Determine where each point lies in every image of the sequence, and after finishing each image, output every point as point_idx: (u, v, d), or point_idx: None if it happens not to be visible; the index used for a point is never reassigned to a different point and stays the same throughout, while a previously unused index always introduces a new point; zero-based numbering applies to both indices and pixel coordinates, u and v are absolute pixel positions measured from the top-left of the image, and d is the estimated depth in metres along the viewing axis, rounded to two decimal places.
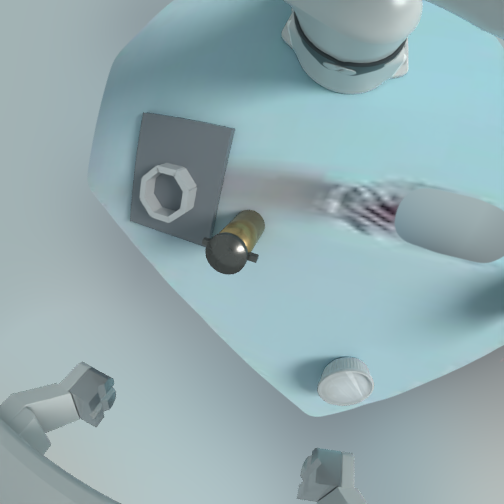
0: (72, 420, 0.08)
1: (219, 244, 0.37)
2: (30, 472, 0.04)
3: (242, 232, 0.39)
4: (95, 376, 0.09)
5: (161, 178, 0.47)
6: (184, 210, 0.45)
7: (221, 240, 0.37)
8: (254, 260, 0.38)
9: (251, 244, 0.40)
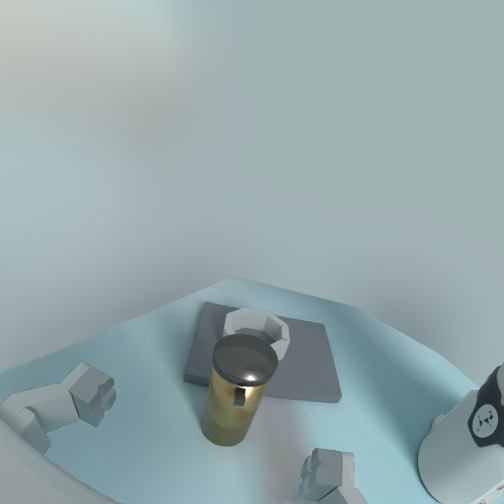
0: (72, 420, 0.08)
1: (260, 349, 0.24)
2: (30, 472, 0.04)
3: (264, 390, 0.24)
4: (95, 376, 0.09)
5: (263, 335, 0.42)
6: None
7: (267, 351, 0.24)
8: (238, 397, 0.21)
9: (246, 403, 0.23)
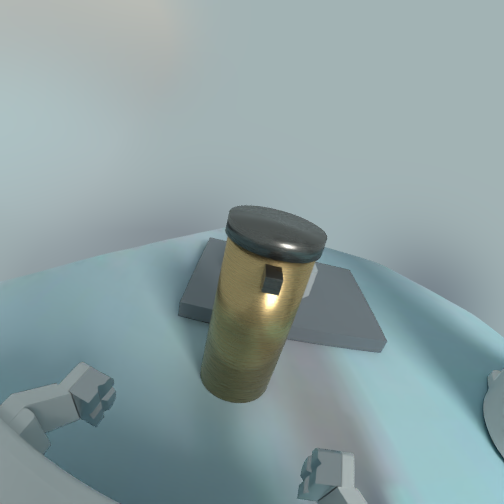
0: (72, 420, 0.08)
1: (298, 222, 0.17)
2: (30, 472, 0.04)
3: None
4: (95, 376, 0.09)
5: None
6: None
7: (308, 225, 0.17)
8: (271, 275, 0.13)
9: (278, 304, 0.15)
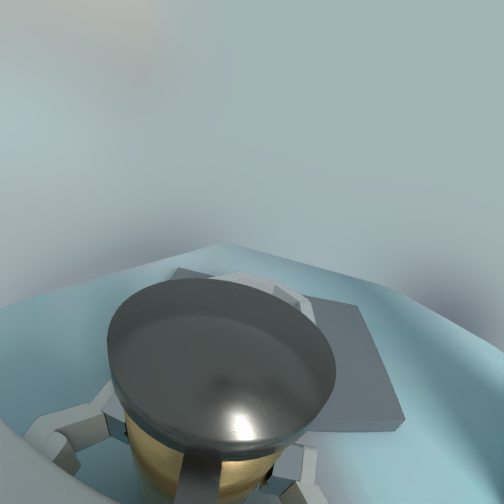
0: (102, 438, 0.08)
1: (275, 323, 0.08)
2: (30, 472, 0.04)
3: None
4: None
5: None
6: None
7: (296, 330, 0.08)
8: (188, 499, 0.04)
9: (226, 488, 0.06)
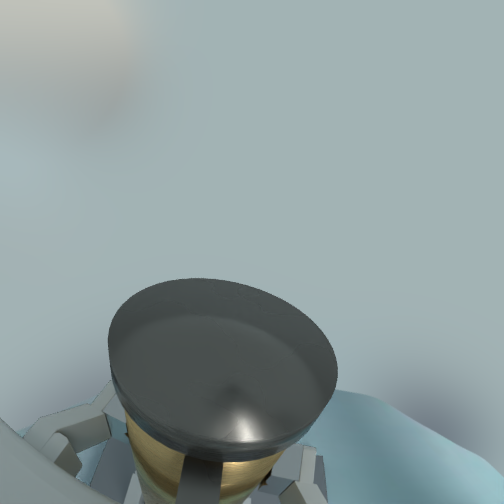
0: (103, 439, 0.08)
1: (276, 323, 0.08)
2: (30, 472, 0.04)
3: None
4: None
5: None
6: None
7: (298, 330, 0.08)
8: (189, 500, 0.04)
9: (227, 489, 0.06)
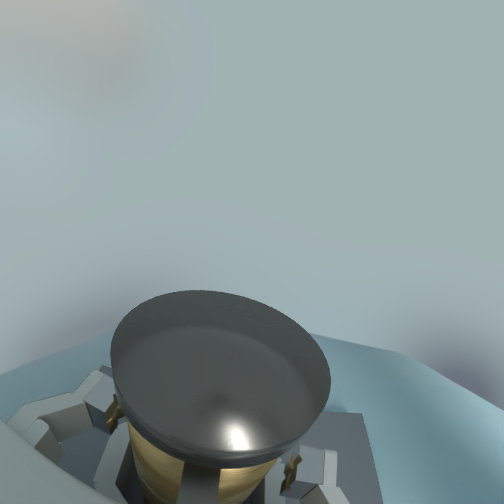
0: (86, 429, 0.08)
1: (272, 335, 0.08)
2: (30, 472, 0.04)
3: None
4: (110, 384, 0.09)
5: None
6: None
7: (293, 342, 0.08)
8: None
9: (225, 492, 0.06)
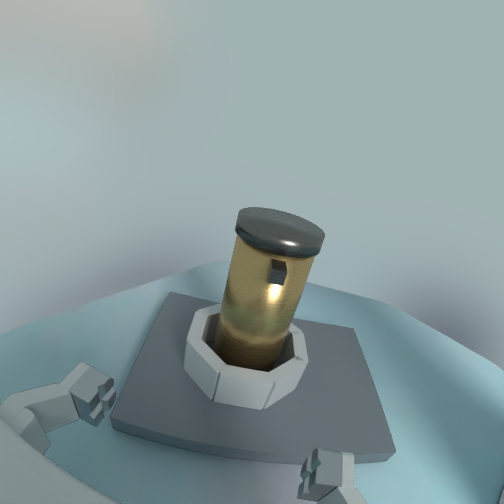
0: (72, 420, 0.08)
1: (299, 222, 0.19)
2: (30, 472, 0.04)
3: (305, 282, 0.18)
4: (95, 376, 0.09)
5: None
6: (223, 372, 0.18)
7: (308, 224, 0.19)
8: (276, 268, 0.15)
9: (282, 294, 0.17)
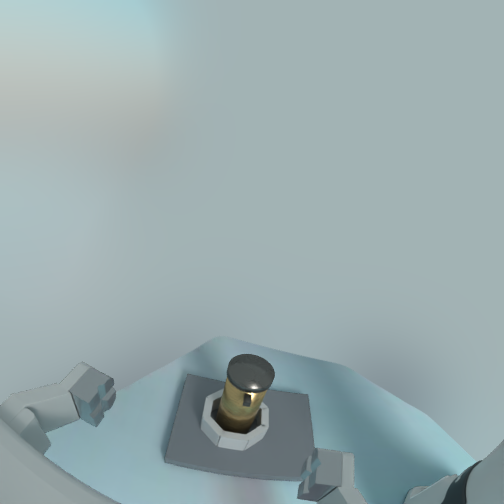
0: (72, 420, 0.08)
1: (262, 366, 0.33)
2: (30, 472, 0.04)
3: (264, 395, 0.32)
4: (95, 376, 0.09)
5: None
6: (222, 435, 0.31)
7: (267, 367, 0.33)
8: (246, 400, 0.29)
9: (251, 404, 0.31)
